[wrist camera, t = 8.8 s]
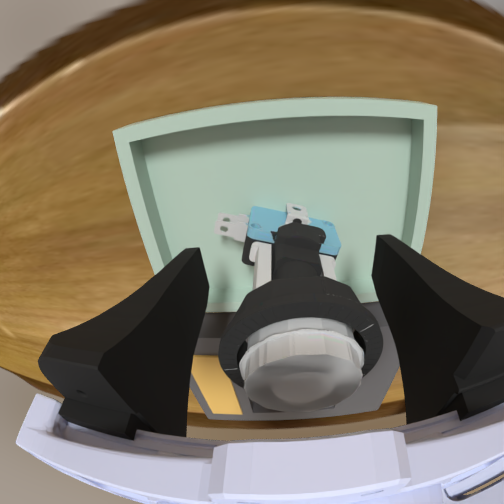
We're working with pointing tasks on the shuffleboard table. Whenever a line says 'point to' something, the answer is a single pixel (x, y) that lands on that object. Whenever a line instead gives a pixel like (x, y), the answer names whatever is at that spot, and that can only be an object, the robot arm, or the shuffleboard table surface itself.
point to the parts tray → (281, 179)
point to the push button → (295, 315)
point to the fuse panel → (243, 408)
